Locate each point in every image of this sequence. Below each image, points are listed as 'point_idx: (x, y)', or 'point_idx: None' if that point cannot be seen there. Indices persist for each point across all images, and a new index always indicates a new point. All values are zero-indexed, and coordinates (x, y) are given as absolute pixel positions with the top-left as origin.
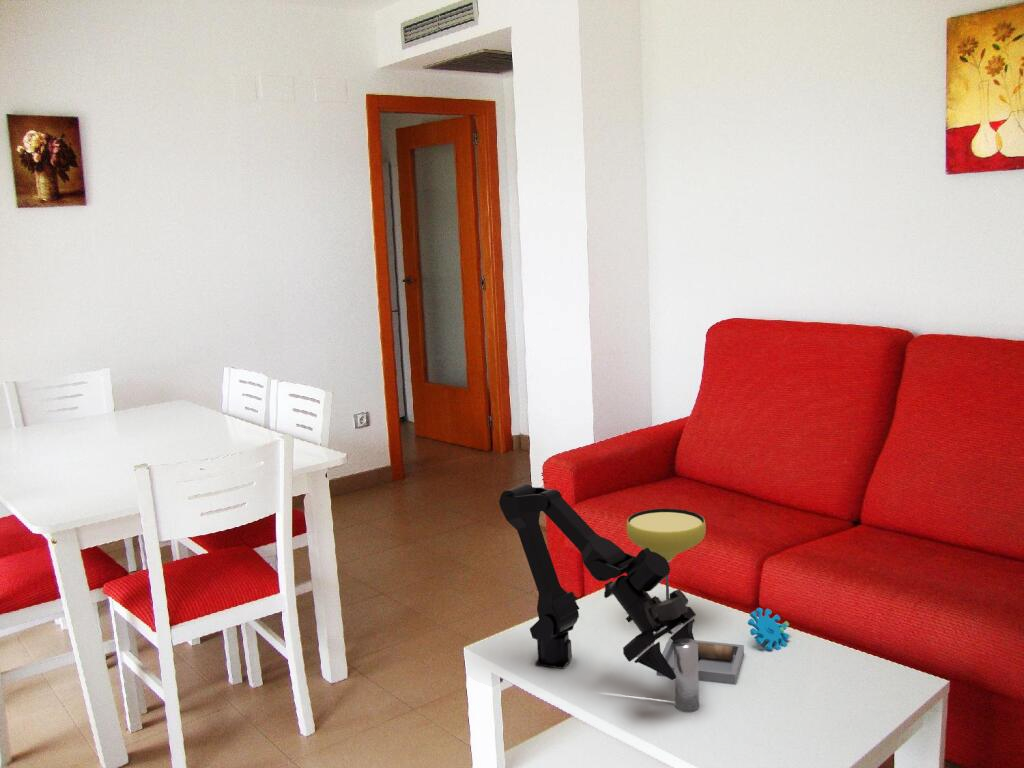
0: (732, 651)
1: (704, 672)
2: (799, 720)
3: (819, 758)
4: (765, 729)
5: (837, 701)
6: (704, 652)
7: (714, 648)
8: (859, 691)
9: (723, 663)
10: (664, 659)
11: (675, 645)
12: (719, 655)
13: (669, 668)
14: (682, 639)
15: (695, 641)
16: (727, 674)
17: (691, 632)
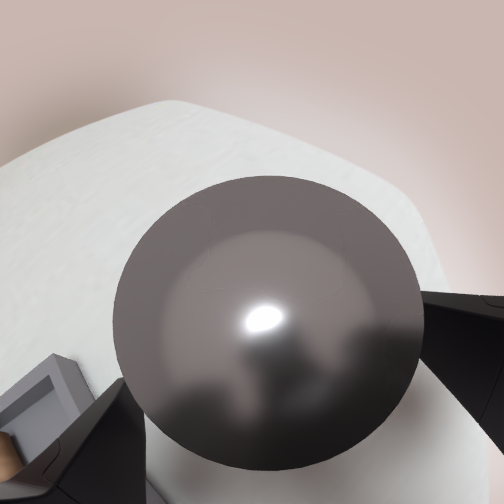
0: None
1: None
2: (117, 179)
3: (202, 108)
4: (190, 183)
5: (35, 198)
6: None
7: (8, 477)
8: (4, 206)
9: (25, 449)
10: (480, 310)
11: (416, 324)
12: (15, 461)
13: (436, 295)
14: (217, 426)
15: (136, 267)
16: (62, 375)
17: (17, 480)
